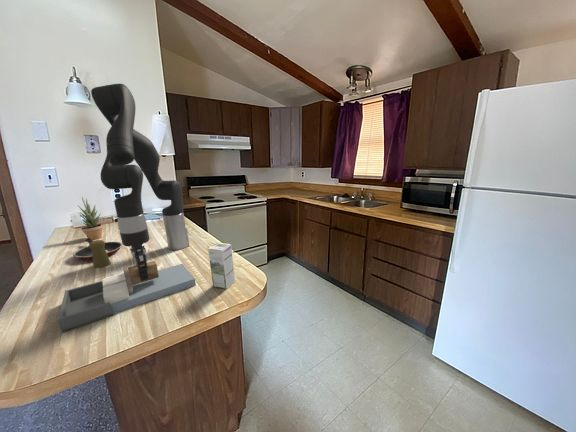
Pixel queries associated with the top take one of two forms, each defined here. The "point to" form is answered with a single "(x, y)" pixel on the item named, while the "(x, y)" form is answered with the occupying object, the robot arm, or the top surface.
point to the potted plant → (91, 223)
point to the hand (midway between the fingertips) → (143, 277)
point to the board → (157, 287)
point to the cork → (99, 254)
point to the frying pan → (87, 252)
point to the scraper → (134, 277)
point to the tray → (83, 306)
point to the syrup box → (221, 265)
